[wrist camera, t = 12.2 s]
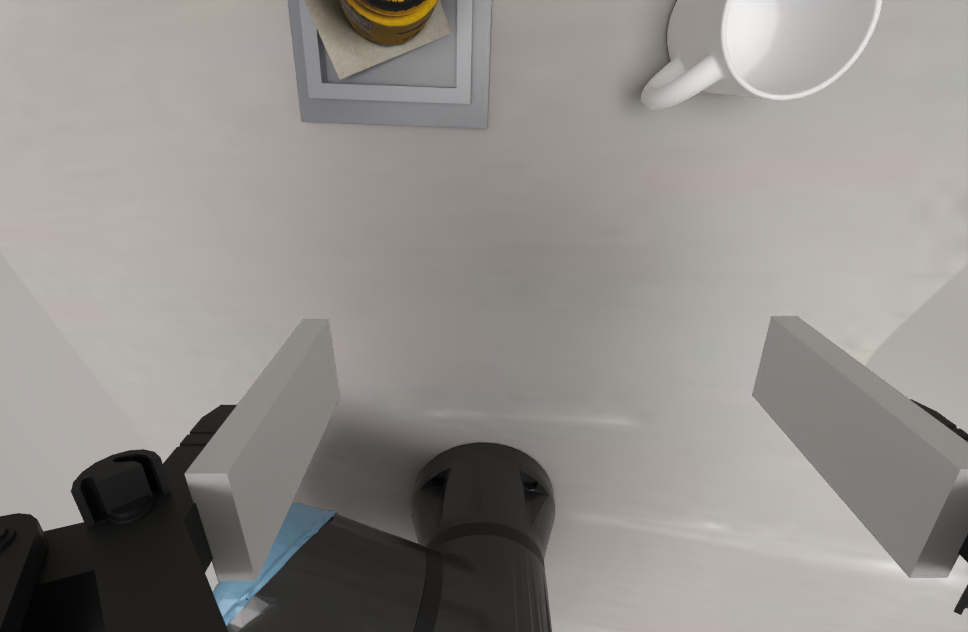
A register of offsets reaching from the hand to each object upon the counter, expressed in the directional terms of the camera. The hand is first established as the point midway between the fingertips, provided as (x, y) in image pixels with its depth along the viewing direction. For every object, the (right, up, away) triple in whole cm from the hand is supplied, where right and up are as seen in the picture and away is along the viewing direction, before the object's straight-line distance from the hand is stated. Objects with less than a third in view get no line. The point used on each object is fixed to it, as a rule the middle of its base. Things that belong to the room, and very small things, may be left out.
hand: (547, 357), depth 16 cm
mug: (+14, +21, +22) cm, 33 cm away
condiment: (-9, +23, +19) cm, 31 cm away
